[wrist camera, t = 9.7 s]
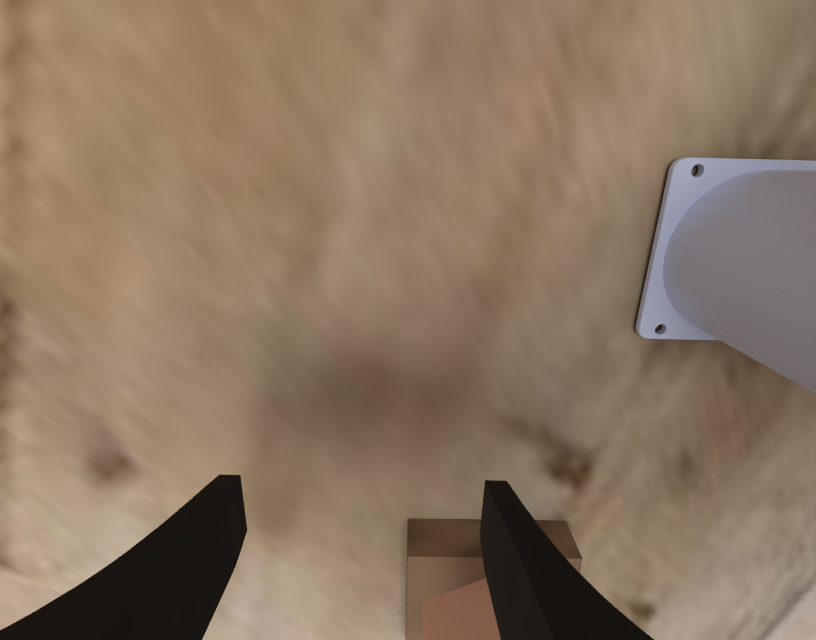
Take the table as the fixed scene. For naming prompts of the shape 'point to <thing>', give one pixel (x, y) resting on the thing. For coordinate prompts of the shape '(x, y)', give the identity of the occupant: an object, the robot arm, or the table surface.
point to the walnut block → (456, 560)
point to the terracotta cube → (461, 615)
